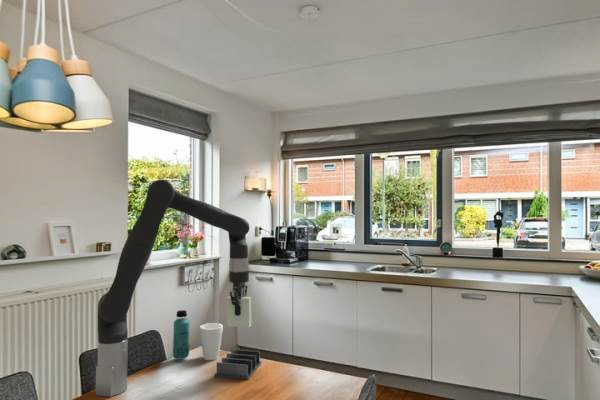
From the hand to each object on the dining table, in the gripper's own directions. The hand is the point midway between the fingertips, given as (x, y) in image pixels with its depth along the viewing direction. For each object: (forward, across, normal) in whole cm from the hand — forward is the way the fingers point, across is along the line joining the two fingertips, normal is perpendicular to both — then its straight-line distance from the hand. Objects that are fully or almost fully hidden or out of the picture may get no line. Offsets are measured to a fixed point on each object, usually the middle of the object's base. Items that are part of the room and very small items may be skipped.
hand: (239, 313), depth 159 cm
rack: (+21, 0, 0) cm, 21 cm away
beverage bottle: (+21, -5, -27) cm, 35 cm away
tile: (+5, 0, 0) cm, 5 cm away
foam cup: (+22, -10, -16) cm, 29 cm away
